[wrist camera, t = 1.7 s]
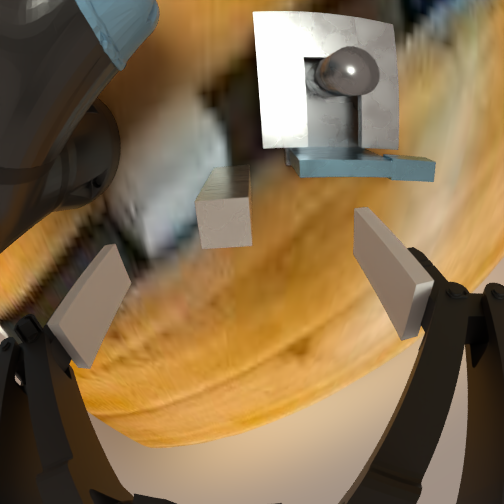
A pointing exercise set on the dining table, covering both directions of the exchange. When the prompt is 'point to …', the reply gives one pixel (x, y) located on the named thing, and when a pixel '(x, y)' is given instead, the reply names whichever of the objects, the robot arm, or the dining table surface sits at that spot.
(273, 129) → the notched panel with ball
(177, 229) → the dining table surface
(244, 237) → the grey rectangular block
